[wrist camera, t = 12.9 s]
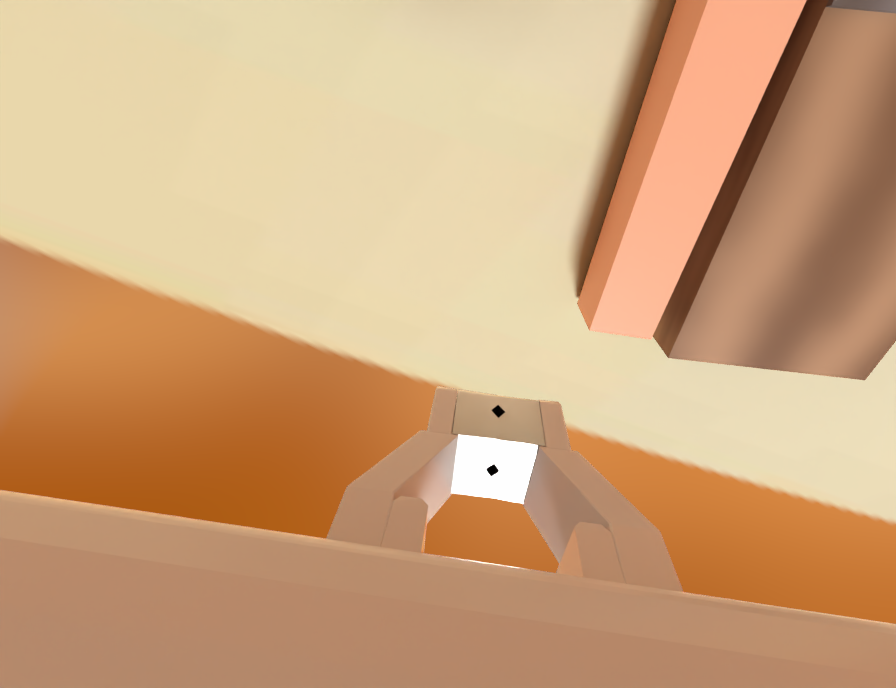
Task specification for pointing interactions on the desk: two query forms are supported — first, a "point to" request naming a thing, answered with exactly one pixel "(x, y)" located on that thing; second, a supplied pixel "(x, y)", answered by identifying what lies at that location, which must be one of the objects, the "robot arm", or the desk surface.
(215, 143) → the desk surface
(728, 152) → the stool leg
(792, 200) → the seat block
